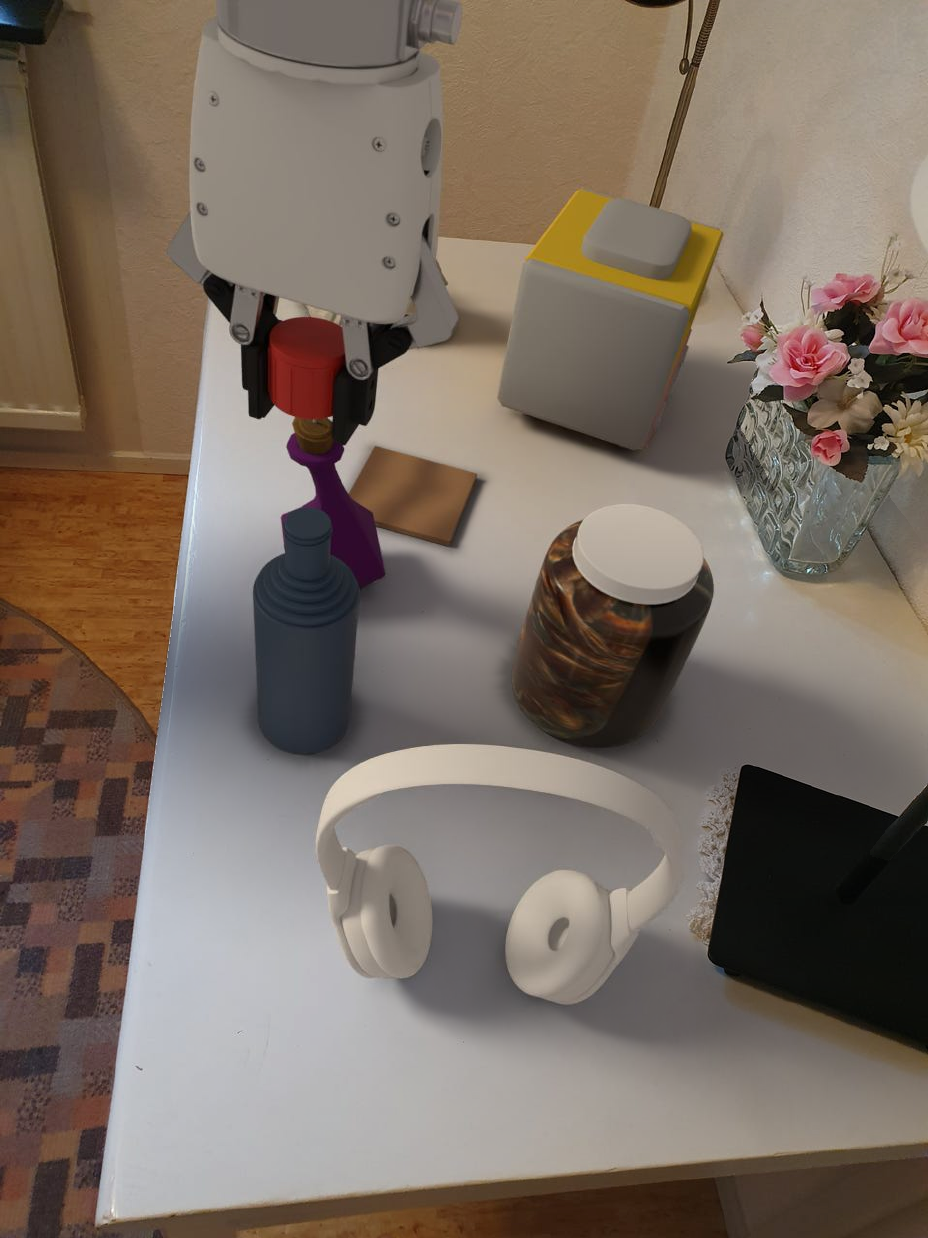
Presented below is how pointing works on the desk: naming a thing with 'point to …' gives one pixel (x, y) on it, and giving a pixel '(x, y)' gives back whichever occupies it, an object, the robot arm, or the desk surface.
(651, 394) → the alarm clock
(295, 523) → the water bottle
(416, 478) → the coaster
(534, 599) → the jar
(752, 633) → the desk surface
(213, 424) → the desk surface
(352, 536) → the perfume bottle
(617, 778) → the headphones
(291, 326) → the cap
